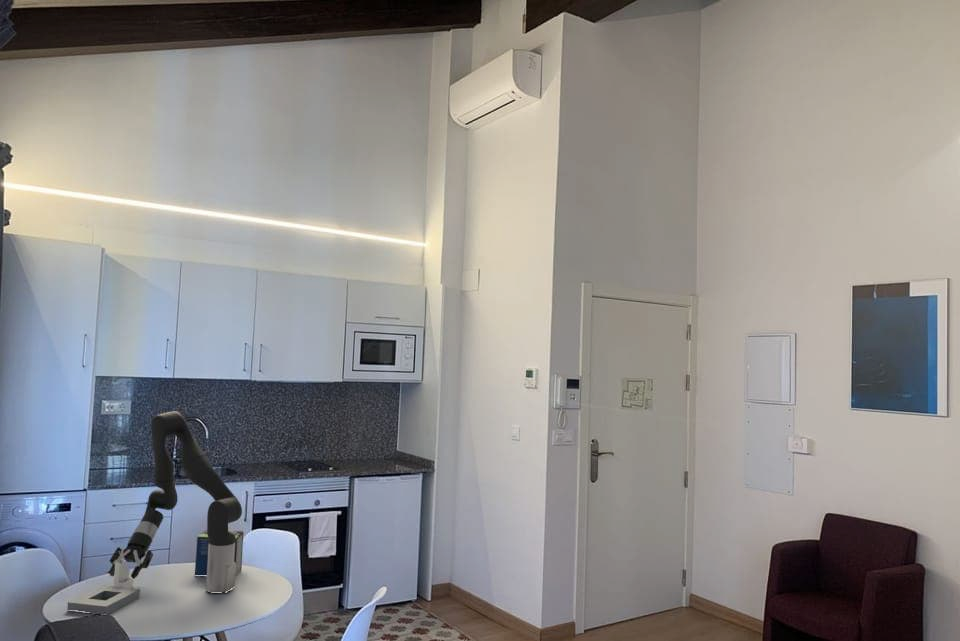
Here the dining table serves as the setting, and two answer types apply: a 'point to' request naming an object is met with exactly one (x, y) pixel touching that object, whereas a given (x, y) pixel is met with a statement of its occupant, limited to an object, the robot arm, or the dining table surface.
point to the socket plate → (104, 599)
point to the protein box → (203, 552)
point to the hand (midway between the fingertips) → (121, 576)
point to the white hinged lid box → (122, 576)
